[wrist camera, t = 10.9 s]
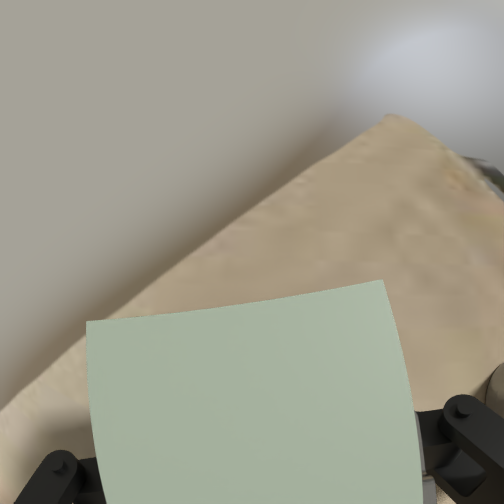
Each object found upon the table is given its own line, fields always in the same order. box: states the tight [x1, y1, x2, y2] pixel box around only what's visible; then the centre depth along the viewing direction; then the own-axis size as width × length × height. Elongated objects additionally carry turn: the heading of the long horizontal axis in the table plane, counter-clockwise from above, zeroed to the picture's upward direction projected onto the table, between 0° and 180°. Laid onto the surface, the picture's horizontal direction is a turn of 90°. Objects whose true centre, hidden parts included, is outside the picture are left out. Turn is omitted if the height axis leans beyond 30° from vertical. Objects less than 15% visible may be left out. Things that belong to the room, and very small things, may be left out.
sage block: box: [86, 279, 423, 504], centre depth 8 cm, size 5×5×11 cm
